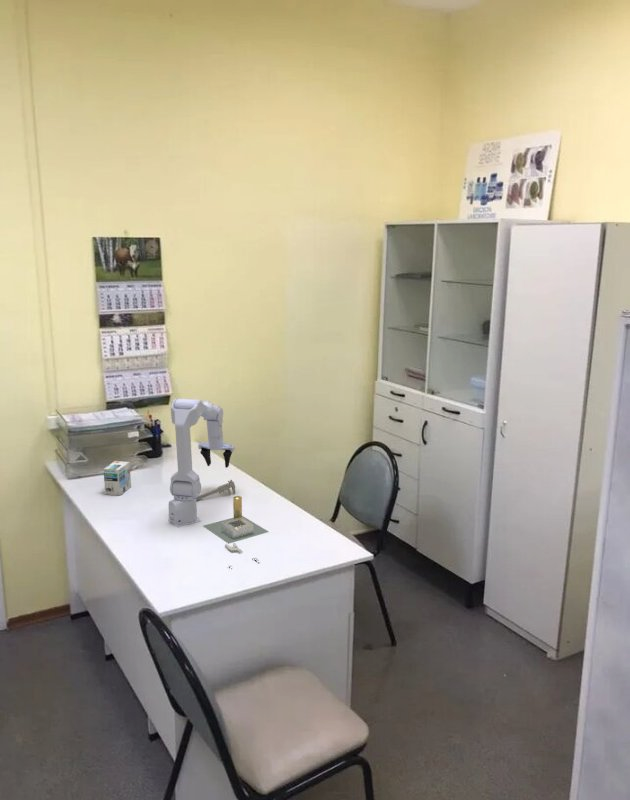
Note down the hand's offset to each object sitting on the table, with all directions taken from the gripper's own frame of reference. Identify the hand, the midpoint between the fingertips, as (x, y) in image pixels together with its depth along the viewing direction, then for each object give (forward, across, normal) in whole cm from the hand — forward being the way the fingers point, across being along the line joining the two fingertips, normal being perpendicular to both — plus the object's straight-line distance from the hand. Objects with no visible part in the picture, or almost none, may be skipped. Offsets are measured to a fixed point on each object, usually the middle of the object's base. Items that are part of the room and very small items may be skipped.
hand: (218, 465), depth 271 cm
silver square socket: (+4, -22, +38) cm, 44 cm away
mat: (+5, -20, +36) cm, 41 cm away
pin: (+5, -18, +30) cm, 35 cm away
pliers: (+2, -27, +55) cm, 61 cm away
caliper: (+10, 0, +10) cm, 14 cm away
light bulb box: (+9, +39, +12) cm, 42 cm away
